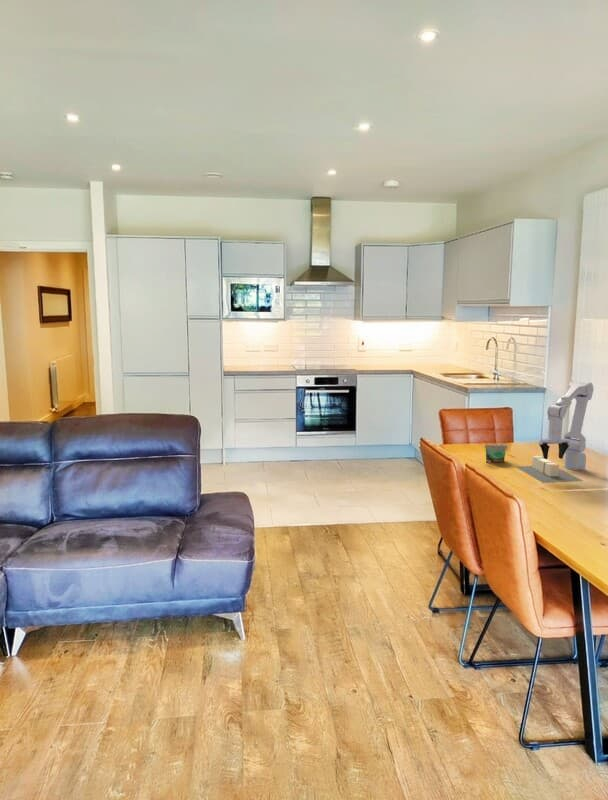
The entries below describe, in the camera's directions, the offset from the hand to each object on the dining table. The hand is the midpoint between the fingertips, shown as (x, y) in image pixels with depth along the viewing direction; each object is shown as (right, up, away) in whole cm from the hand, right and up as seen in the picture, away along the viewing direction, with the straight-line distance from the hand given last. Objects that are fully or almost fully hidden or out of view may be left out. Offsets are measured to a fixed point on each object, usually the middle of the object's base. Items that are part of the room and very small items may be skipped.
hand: (552, 458), depth 261 cm
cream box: (-1, -7, +10) cm, 12 cm away
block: (0, -8, +2) cm, 8 cm away
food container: (-18, -5, +25) cm, 31 cm away
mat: (0, -9, +5) cm, 10 cm away
